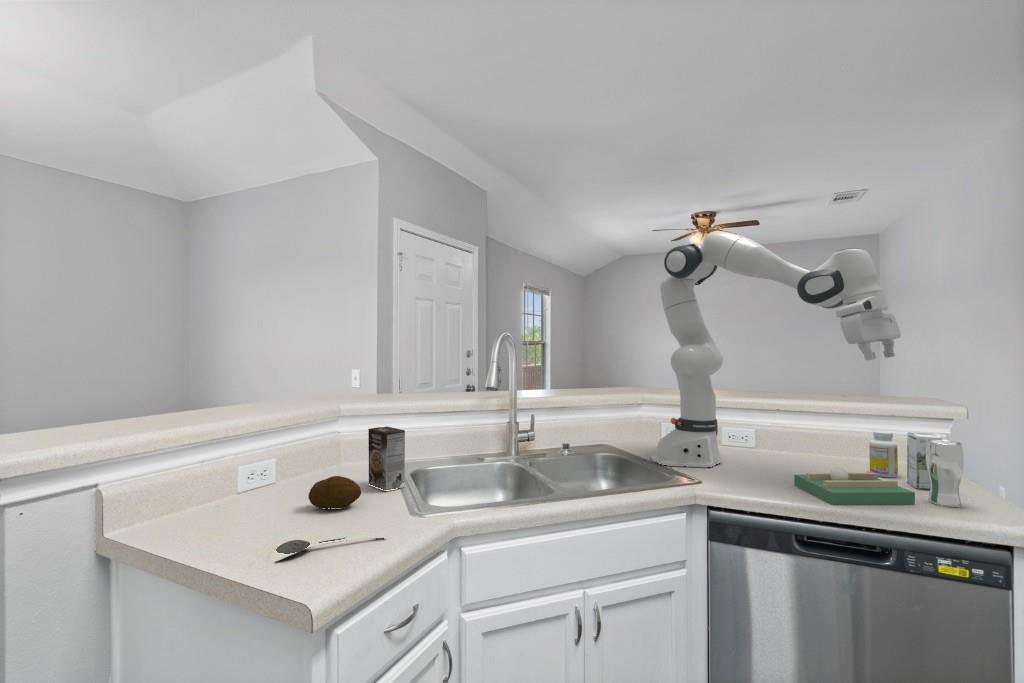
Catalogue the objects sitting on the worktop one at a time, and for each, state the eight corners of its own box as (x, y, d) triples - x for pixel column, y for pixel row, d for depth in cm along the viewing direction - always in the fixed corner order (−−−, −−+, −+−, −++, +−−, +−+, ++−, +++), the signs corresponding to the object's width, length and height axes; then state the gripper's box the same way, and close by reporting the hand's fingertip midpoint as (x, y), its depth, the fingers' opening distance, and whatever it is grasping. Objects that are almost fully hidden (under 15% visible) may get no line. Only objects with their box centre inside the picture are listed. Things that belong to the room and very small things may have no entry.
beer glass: (967, 510, 114) (966, 446, 114) (928, 504, 117) (928, 443, 117) (959, 501, 120) (959, 441, 120) (923, 497, 123) (922, 438, 123)
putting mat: (832, 504, 118) (832, 486, 118) (794, 485, 134) (794, 469, 134) (915, 504, 118) (914, 486, 118) (867, 485, 134) (867, 468, 134)
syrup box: (931, 485, 133) (931, 432, 133) (943, 491, 128) (942, 436, 128) (906, 483, 135) (906, 431, 135) (916, 489, 130) (916, 435, 130)
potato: (311, 504, 120) (311, 473, 121) (363, 500, 123) (363, 470, 123) (304, 515, 113) (304, 482, 113) (360, 511, 115) (360, 479, 115)
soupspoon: (268, 556, 94) (265, 573, 88) (267, 539, 93) (264, 555, 87) (384, 534, 102) (389, 547, 96) (383, 518, 102) (388, 531, 96)
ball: (836, 485, 124) (836, 469, 124) (826, 480, 128) (826, 465, 128) (852, 485, 124) (852, 469, 124) (841, 480, 128) (841, 465, 128)
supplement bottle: (888, 472, 146) (887, 430, 146) (903, 478, 140) (903, 434, 140) (864, 472, 147) (864, 429, 147) (878, 478, 141) (878, 433, 141)
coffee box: (367, 486, 135) (367, 428, 136) (387, 481, 140) (387, 425, 140) (385, 493, 129) (385, 432, 129) (405, 487, 134) (405, 429, 134)
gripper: (873, 309, 134) (887, 358, 132) (831, 311, 125) (846, 363, 122) (899, 302, 129) (914, 353, 127) (857, 304, 119) (873, 358, 117)
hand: (880, 358), depth 124 cm, fingers open, 8 cm apart
